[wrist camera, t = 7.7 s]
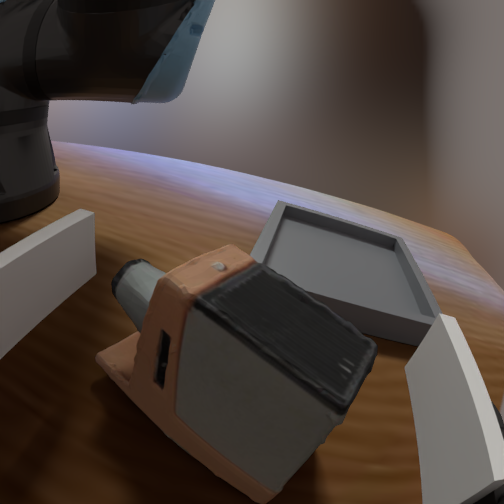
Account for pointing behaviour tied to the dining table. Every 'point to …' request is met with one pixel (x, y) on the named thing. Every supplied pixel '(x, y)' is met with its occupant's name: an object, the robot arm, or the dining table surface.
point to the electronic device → (236, 364)
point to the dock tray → (350, 271)
